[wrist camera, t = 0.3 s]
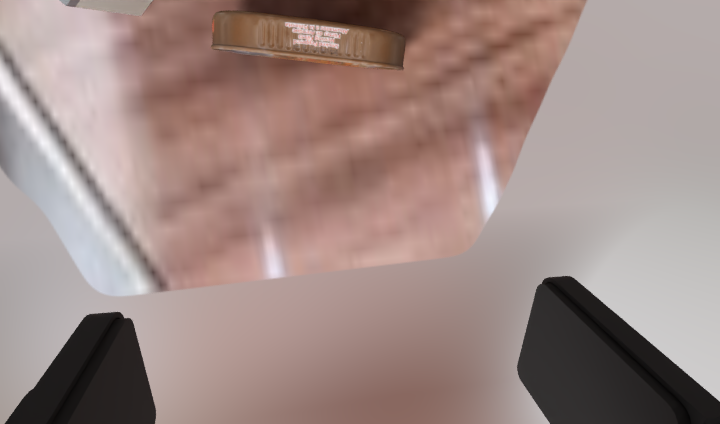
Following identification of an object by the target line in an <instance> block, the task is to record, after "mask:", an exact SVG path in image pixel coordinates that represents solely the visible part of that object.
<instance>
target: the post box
mask: <svg viewBox="0 0 720 424" xmlns="http://www.w3.org/2000/svg"><path fill="white" fill-rule="evenodd" d="M60 1H61V2H62V3H63V4H65V5H66V6H71V7H78V8H85V9H92V10H99V11H107V12H114V13H121V14H128V15H135V16H141V15H142V14H143V13H144V11H145V10H146V9H147V7H148V6H149V5H150V3H151V2H152V1H153V0H60Z"/></svg>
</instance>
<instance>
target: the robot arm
mask: <svg viewBox="0 0 720 424" xmlns="http://www.w3.org/2000/svg"><path fill="white" fill-rule="evenodd" d="M517 370H518V375H519V378H520V379H521V381H522V383H523V384H524V386H525V387H526V389H527V390H528V392H529V393H530V395H531V396H532V398H533V399H534V401H535V402H536V404H537V405H538V406H539V408H540V409H541V411H542V412H543V414H544V415H545V417H546V418H547V420H548V421H549V422H550V424H720V402H719V401H718V400H717V399H716V398H715V397H714V396H712V395H711V394H710V393H709V392H708V391H707V390H705V389H704V388H703V387H702V386H700V385H699V384H698V383H697V382H696V381H695V380H694V379H692V378H691V377H690V376H689V375H688V374H686V373H685V372H684V371H683V370H682V369H680V368H679V367H678V366H677V365H676V364H674V363H673V362H672V361H671V360H670V359H669V358H668V357H666V356H665V355H664V354H663V353H662V352H660V351H659V350H658V349H657V348H656V347H655V346H653V345H652V344H651V343H650V342H649V341H647V340H646V339H645V338H644V337H643V336H642V335H640V334H639V333H638V332H637V331H636V330H634V329H633V328H632V327H631V326H630V325H628V324H627V323H626V322H625V321H624V320H623V319H622V318H620V317H619V316H618V315H617V314H616V313H614V312H613V311H612V310H611V309H610V308H608V307H607V306H606V305H605V304H603V302H601V301H600V300H599V299H598V298H597V297H595V296H594V295H593V294H592V293H591V292H590V291H588V290H587V289H586V288H585V287H584V286H583V285H581V284H580V283H579V282H578V281H577V280H575V279H574V278H572V277H570V276H562V277H549V278H546V279H544V280H543V282H542V284H540V285H539V286H538V287H537V289H536V293H535V298H534V302H533V305H532V309H531V313H530V317H529V321H528V325H527V329H526V333H525V337H524V341H523V345H522V349H521V353H520V357H519V361H518V365H517ZM155 419H156V409H155V405H154V401H153V397H152V393H151V389H150V385H149V381H148V378H147V374H146V370H145V367H144V362H143V358H142V355H141V351H140V347H139V343H138V340H137V336H136V332H135V328H134V324H133V321H132V320H131V319H130V318H124V317H123V315H122V314H121V313H120V312H111V313H98V314H89V315H87V316H86V317H85V318H84V319H83V320H82V322H81V323H80V324H79V326H78V327H77V328H76V330H75V331H74V333H73V334H72V335H71V337H70V338H69V340H68V341H67V342H66V344H65V345H64V347H63V348H62V350H61V351H60V352H59V354H58V355H57V356H56V358H55V359H54V361H53V362H52V363H51V365H50V366H49V368H48V369H47V371H46V372H45V373H44V375H43V376H42V378H41V379H40V380H39V382H38V383H37V385H36V386H35V387H34V389H32V390H31V391H29V393H28V394H27V395H26V396H25V397H24V398H23V399H22V401H21V402H20V403H19V405H18V406H17V407H16V409H15V410H14V412H13V413H12V414H11V416H10V417H9V419H8V420H7V421H6V423H5V424H155Z"/></svg>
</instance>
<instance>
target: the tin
mask: <svg viewBox="0 0 720 424" xmlns="http://www.w3.org/2000/svg"><path fill="white" fill-rule="evenodd" d="M212 31H213V45H212V46H211V48H212V49H214V50H220V51H227V52H233V53H238V54H246V55H254V56H264V57H272V58H281V59H290V60H299V61H307V62H316V63H325V64H333V65H343V66H352V67H363V68H373V69H388V70H403V69H404V68H403V60H404V52H405V38H404V36H402V35H401V34H399V33H395V32H392V31H388V30H384V29H378V28H372V27H367V26H360V25H353V24H345V23H339V22H331V21H324V20H317V19H309V18H302V17H293V16H285V15H276V14H268V13H259V12H248V11H220V12H217V13H215V14H214V16H213V20H212Z"/></svg>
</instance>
